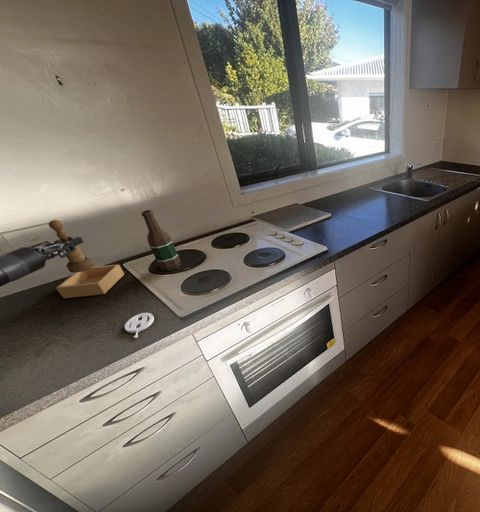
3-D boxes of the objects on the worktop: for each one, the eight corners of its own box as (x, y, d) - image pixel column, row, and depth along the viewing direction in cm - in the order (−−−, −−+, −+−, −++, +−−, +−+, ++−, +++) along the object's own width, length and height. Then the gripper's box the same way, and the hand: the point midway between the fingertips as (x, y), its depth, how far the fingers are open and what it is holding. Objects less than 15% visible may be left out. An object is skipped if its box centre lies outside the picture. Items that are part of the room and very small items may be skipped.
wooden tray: (63, 298, 101) (55, 287, 98) (87, 277, 111) (81, 268, 109) (104, 293, 103) (98, 283, 100) (124, 274, 113) (119, 264, 111)
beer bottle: (184, 259, 123) (161, 206, 110) (179, 269, 116) (155, 213, 104) (163, 262, 120) (138, 208, 108) (157, 272, 114) (129, 216, 102)
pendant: (155, 311, 94) (154, 309, 94) (151, 333, 86) (150, 331, 86) (128, 319, 91) (127, 317, 91) (121, 342, 83) (120, 340, 83)
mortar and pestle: (88, 271, 100) (58, 223, 91) (65, 274, 99) (33, 226, 89) (98, 261, 106) (71, 216, 97) (76, 264, 104) (47, 218, 95)
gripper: (28, 255, 82) (88, 230, 97) (-15, 252, 84) (51, 228, 98) (43, 277, 86) (99, 249, 101) (3, 274, 87) (63, 247, 102)
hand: (75, 239), depth 99 cm, fingers closed on mortar and pestle, 4 cm apart
